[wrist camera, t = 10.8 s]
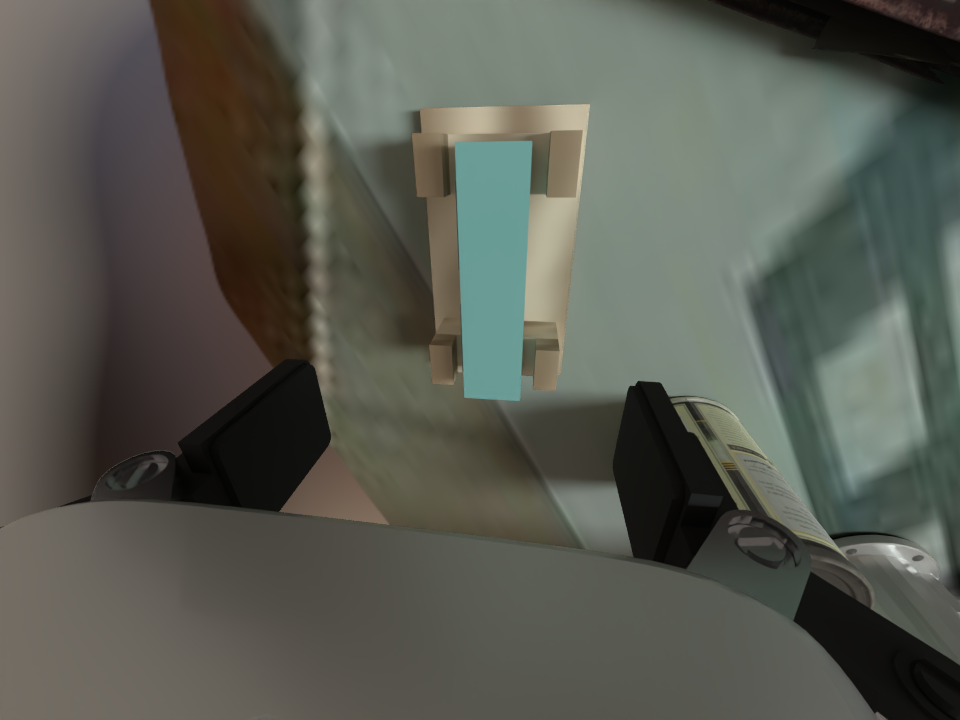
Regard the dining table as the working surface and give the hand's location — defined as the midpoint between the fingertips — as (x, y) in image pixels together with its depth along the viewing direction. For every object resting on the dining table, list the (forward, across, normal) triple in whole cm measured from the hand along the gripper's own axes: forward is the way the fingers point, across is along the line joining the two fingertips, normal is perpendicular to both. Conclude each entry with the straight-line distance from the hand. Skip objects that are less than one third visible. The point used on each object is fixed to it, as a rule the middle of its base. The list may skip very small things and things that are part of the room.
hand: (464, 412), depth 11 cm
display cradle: (+18, +1, 0) cm, 19 cm away
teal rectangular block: (+14, 0, 0) cm, 15 cm away
